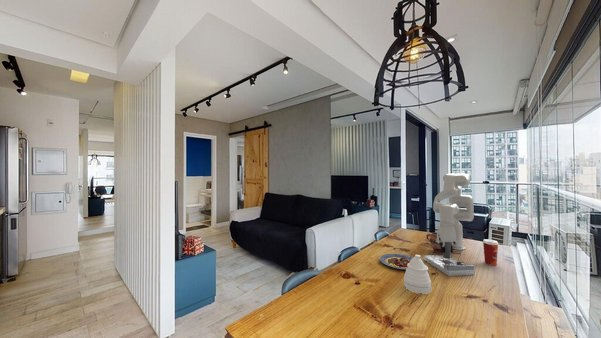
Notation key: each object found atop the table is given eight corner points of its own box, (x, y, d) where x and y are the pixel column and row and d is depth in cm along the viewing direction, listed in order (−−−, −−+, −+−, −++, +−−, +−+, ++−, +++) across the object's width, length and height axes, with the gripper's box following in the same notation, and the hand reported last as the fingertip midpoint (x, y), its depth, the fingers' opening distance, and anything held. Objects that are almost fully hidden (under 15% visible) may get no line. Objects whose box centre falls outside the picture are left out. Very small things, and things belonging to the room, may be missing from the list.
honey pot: (435, 295, 113) (434, 259, 113) (407, 293, 116) (406, 258, 116) (426, 283, 126) (425, 250, 126) (401, 281, 129) (401, 249, 129)
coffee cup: (499, 267, 145) (499, 243, 145) (482, 264, 150) (482, 241, 150) (498, 262, 152) (498, 240, 152) (482, 259, 157) (482, 238, 157)
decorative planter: (421, 249, 179) (421, 231, 179) (430, 246, 185) (429, 229, 185) (448, 257, 162) (448, 237, 162) (457, 254, 168) (457, 235, 168)
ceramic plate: (412, 256, 164) (412, 252, 164) (429, 273, 138) (429, 268, 138) (375, 256, 167) (375, 251, 167) (385, 271, 141) (385, 267, 141)
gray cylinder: (441, 256, 148) (441, 240, 148) (447, 255, 149) (447, 240, 149) (446, 258, 144) (445, 242, 144) (452, 258, 144) (452, 242, 144)
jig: (423, 259, 158) (423, 252, 158) (445, 258, 159) (445, 251, 159) (448, 276, 134) (448, 266, 134) (474, 274, 135) (474, 265, 135)
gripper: (454, 222, 151) (454, 249, 151) (430, 222, 150) (430, 250, 150) (463, 224, 143) (463, 253, 143) (437, 225, 142) (438, 254, 142)
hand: (446, 251), depth 146 cm, fingers closed on gray cylinder, 4 cm apart
